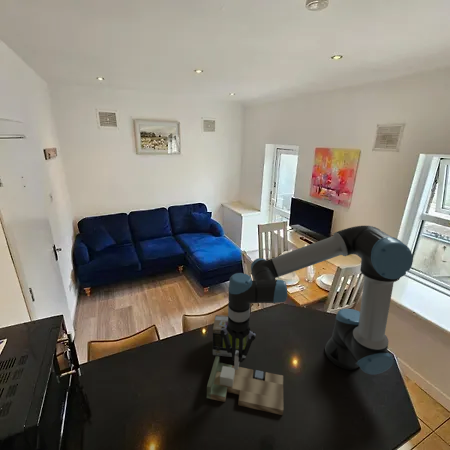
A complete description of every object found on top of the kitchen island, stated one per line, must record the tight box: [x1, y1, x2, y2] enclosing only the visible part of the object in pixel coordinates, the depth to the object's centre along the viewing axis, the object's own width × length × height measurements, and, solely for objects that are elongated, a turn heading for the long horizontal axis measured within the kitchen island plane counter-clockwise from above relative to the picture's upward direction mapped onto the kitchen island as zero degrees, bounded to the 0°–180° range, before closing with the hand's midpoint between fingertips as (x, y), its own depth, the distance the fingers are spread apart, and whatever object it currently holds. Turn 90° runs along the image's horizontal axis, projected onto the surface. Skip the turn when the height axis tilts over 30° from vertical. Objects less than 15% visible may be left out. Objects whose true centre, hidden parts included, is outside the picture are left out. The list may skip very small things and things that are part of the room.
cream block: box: [220, 366, 235, 387], centre depth 99 cm, size 5×5×4 cm
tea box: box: [212, 314, 248, 359], centre depth 115 cm, size 15×10×15 cm, turn 84°
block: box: [254, 369, 264, 381], centre depth 103 cm, size 3×3×3 cm
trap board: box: [206, 355, 284, 416], centre depth 98 cm, size 28×14×6 cm, turn 78°
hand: (236, 366), depth 97 cm, fingers closed
